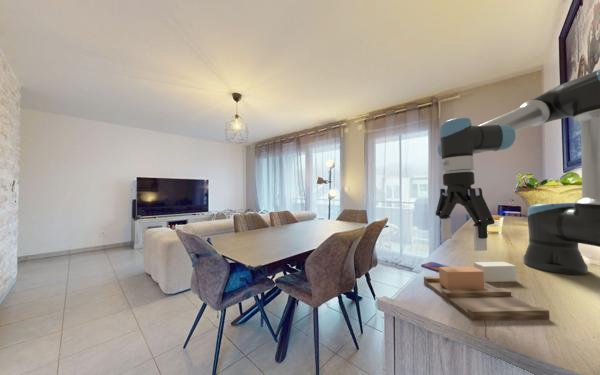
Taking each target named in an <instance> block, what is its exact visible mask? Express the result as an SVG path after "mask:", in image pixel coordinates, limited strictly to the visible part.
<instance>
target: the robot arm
mask: <svg viewBox="0 0 600 375" xmlns="http://www.w3.org/2000/svg"><path fill="white" fill-rule="evenodd" d="M570 117H572V119H573V120H574V121H577V122H579V123H580V142H581V143H580V146H581V147H580V150H581V154H580V155H581V197H580V198H579V199H578V200H576V201H575V202H561V203H557V202H556V203H541V204H540V203H539V204H532V205H530V206H529V207H527V209H528V210H527V217H526V218H527V226H528V246H527V248H526V250H525V254H524V255H523V264H525V265H526V266H527V267H528V266H529V267H531V268H534V269H537V270H541V271H545V272H550V273H557V274H563V275H575V276H576V275H582V276H583V275H586V274H587V275H588V273H589V269H588V268H589V267H588V264H587V263H586V262H585V260H584V257H583V255H582V253H581V251H580V250H579V244H582V245H588V246H593V247H600V68H599V69H597V70H594V71H592V72H589V73H587V74H585V75H582V76H579V77H577V78H575V79H572V80H569V81H567V82H564V83H562V84H559V85H557V86H555V87H553V88H551V89H549V90H547V91H545V92H543V93H542V94H540V95H538V96H535V97H534V98H532V99H530V100H527V101H525V102H523V103H522V104H521V105H520V106H519V107H517V108H516V109H514V110H512V111H511V110H510V112H507V113H504V114H502V115H500V116H497V117H496V118H492V119H491V120H488V121H486V122H484V123H482V124H479V125H472V124H473V123H472V120H471V118H469V117H455V118H451V119H449V120H446V121H444V122H442V123H441V125H440V129H439V130H440V131H439V135H440V136H439V139H440V142H439V143H438V145H437V153H438V155H439V156H440V157H441V165H442V167H441V168H442V172H443V174H442V182H443V183H442V184H443V186H444V187H445V188H440V190H439V192H440V194H439V199H438V203H437V207H436V211H435V216H437V217H439V219H440V228H441V238H442V240H452V239H453V236H452V235H453V234H452V232H453V231H452V217H451V214H452V212H453V211H454V208H455V207H456V205H460V206H463V207H464V208H465V210H466V212H467V213H468V215H469V216H470V218H471V220H472V221H473V223H474V224H473V226H472V231H473V247H474V251H477V252H479V251H480V252H481V251H488V246H487V245H488V244H487V242H488V240H487V239H488V226H489V225H490V226H491V225H494V224H495V220H494V217H493V215H492V213H491V211H490V209H489V207H488V204H487V203H486V200H485V197H484V194H483V190H482V188H481V187H472V185H474V184H475V183H476V182H475V173H474V172H473V170H474V169H475V163H474V155H475V154H480V153H485V152H492V151H494V152H497V151H504V150H507V149H509V148H510V147H511V146H512V145H513V144H514V143H515V141H516V133H518V132H520V131H521V130H525V129H526V128H529V127H537V126H541V125H543V124H545V123H549V122H552V121H557V120H562V119H566V118H570ZM446 187H447V188H446Z"/></svg>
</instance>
